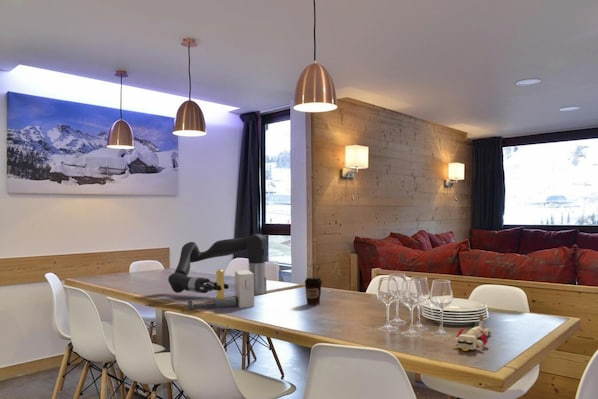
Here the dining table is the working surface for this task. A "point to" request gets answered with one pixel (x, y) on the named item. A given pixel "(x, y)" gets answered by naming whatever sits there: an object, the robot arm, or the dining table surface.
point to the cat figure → (472, 337)
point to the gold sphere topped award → (222, 292)
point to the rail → (202, 305)
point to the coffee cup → (313, 290)
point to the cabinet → (244, 288)
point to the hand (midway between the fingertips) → (224, 287)
